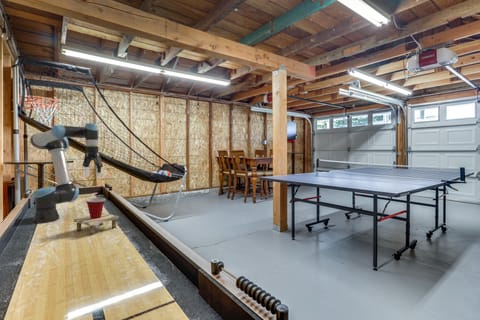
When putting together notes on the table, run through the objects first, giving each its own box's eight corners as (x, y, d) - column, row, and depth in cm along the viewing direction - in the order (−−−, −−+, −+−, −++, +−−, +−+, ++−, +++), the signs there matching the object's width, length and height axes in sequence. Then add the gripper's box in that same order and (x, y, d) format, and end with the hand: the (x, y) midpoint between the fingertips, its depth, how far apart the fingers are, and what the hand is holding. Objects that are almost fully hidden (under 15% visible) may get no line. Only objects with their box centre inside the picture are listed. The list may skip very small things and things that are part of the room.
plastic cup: (99, 220, 153) (99, 200, 152) (82, 220, 153) (81, 200, 153) (109, 215, 164) (108, 197, 163) (93, 215, 164) (92, 197, 163)
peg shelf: (74, 231, 155) (73, 219, 155) (102, 223, 171) (102, 212, 171) (90, 236, 146) (90, 223, 146) (118, 227, 162) (118, 216, 162)
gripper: (76, 146, 175) (77, 176, 176) (97, 145, 162) (98, 178, 163) (87, 146, 181) (88, 175, 182) (108, 146, 169) (109, 177, 170)
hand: (92, 176), depth 173 cm, fingers open, 13 cm apart
